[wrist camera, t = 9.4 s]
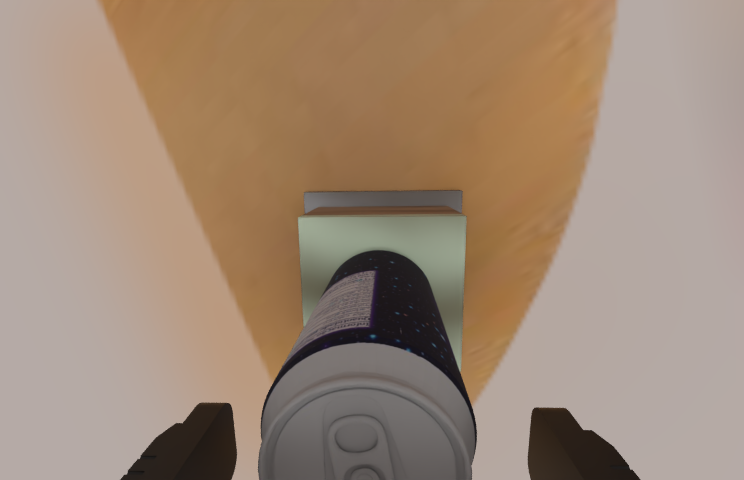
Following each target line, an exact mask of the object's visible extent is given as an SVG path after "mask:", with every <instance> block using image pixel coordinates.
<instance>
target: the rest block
mask: <svg viewBox="0 0 744 480" xmlns="http://www.w3.org/2000/svg"><path fill="white" fill-rule="evenodd" d="M304 207H305V214H304V215H302V216H300V217H298V229H299V248H300V267H301V286H302V305H303V324H304V327H305V325H306V323H307V321H308V320H309V318H310V316H311V314H312V312H313V311H314V309H315V307H316V305H317V303H318V302H319V300H320V298H321V296H322V294H323V293H324V291H325V289H326V287H327V285H328V284H329V282H330V280H331V278H332V276H333V275H334V273H335V272H336V270H337V269H338V268H339V267H340V266H341V265H342V264H343V263H344V262H345V261H347V260H348V259H350V258H351V257H353V256H355V255H357V254H360V253H363V252H366V251H372V250H385V251H391V252H395V253H398V254H401V255H403V256H405V257H407V258H408V259H410V260H412V261H413V262H414V263H415V264H416V265H418V266H419V268H420V269H421V270H422V271H423V272H424V274H425V275H426V277H427V279H428V281H429V283H430V286H431V289H432V291H433V294H434V297H435V300H436V303H437V306H438V309H439V312H440V315H441V318H442V321H443V324H444V327H445V330H446V333H447V336H448V338H449V341H450V344H451V347H452V350H453V353H454V356H455V359H456V362H457V365H458V368H459V371H460V372H461V354H462V326H463V299H464V272H465V244H466V217H467V216H465V215H463V214H462V191H461V190H431V191H342V192H305V193H304Z"/></svg>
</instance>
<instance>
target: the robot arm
mask: <svg viewBox="0 0 744 480" xmlns="http://www.w3.org/2000/svg"><path fill="white" fill-rule="evenodd" d="M236 459H237V449H236V441H235V430H234V421H233V411H232V407H231V405H230V404H229V403H199V404H198V405H197V406H196V407H195V408H194V410H193V411H192V412H191V413H190V415H189V416H188V417H187V419H186V420H185V421H184V422H183V423H176V424H174V425H173V426H172V427H170V428H169V429H167V430H166V431H165V432H163V433H162V434H160V435H159V436H158V437H156V438H155V440H154V441H153V442H152V443H151V444H150V445H149V446H148V448H147V449H146V450H145V451H144V452H143V454H142V455H141V458H140V459H138V460H137V461H136V462H135V463H134V464H133V465H132V467H131V468H130V469H129V470H128V473H127V475H124V476H123V477H122V478H121V480H231V479H232V476H233V473H234V470H235V465H236ZM528 468H529V474H530V478H531V480H640V479H639V477H638V476H637V475H636V474H635V473H634V471H633V470H630V468H629V465H628V464H627V463H626V462H625V460H624V459H623V458H622V456H621V455H620V454H619V453H618V452H617V450H616V449H615V448H614V447H613V446H612V445H611V444H609V443H608V442H607V441H605V440H604V439H603V438H601V437H600V436H599V435H597V434H596V433H595V432H593V431H592V430H583V429H582V428H581V427H580V425H579V424H578V423H577V421H576V420H575V419H574V417H573V416H572V415H571V413H570V412H569V411H568V410H567V409H566V408H534V409H533V411H532V416H531V426H530V438H529V450H528Z"/></svg>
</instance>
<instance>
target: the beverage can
mask: <svg viewBox="0 0 744 480" xmlns="http://www.w3.org/2000/svg"><path fill="white" fill-rule="evenodd" d="M261 438H262V443H261V448H260V452H259V461H258V473H259V480H472V468H471V465H472V462H473V459H474V454H475V449H476V441H477V430H476V422H475V416H474V413H473V409H472V406H471V403H470V400H469V397H468V394H467V391H466V388H465V386H464V383H463V380H462V377H461V374H460V371H459V368H458V365H457V362H456V359H455V356H454V353H453V350H452V347H451V344H450V341H449V338H448V336H447V333H446V330H445V327H444V324H443V321H442V318H441V315H440V312H439V309H438V306H437V303H436V300H435V297H434V294H433V291H432V289H431V286H430V283H429V281H428V279H427V277H426V275H425V274H424V272H423V271H422V270H421V269H420V268H419V266H418V265H416V264H415V263H414V262H413V261H412V260H410V259H408V258H407V257H405V256H403V255H401V254H398V253H395V252H391V251H385V250H372V251H366V252H363V253H360V254H357V255H355V256H353V257H351V258H350V259H348V260H347V261H345V262H344V263H343V264H342V265H341V266H340V267H339V268H338V269H337V270H336V272H335V273H334V275H333V276H332V278H331V280H330V282H329V284H328V285H327V287H326V289H325V291H324V293H323V294H322V296H321V298H320V300H319V302H318V303H317V305H316V307H315V309H314V311H313V312H312V314H311V316H310V318H309V320H308V321H307V323H306V325H305V327H304V329H303V330H302V332H301V334H300V336H299V338H298V339H297V341H296V343H295V345H294V347H293V348H292V350H291V352H290V354H289V356H288V357H287V359H286V361H285V363H284V365H283V366H282V368H281V370H280V372H279V374H278V375H277V377H276V379H275V381H274V382H273V384H272V386H271V388H270V390H269V392H268V394H267V397H266V400H265V402H264V406H263V410H262V417H261Z"/></svg>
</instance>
